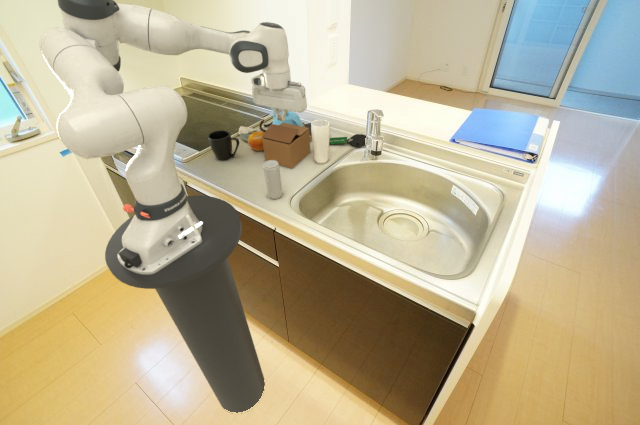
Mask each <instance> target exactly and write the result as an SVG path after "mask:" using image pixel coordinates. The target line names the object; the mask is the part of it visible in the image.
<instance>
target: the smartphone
mask: <svg viewBox="0 0 640 425" xmlns="http://www.w3.org/2000/svg"><path fill="white" fill-rule="evenodd" d="M311 123H312V122H308V123H304V125H305V127H307V128H309V129H308V130H309V134H310V137H311V136H312V135H311Z"/></svg>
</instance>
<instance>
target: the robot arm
mask: <svg viewBox="0 0 640 425" xmlns="http://www.w3.org/2000/svg"><path fill="white" fill-rule="evenodd" d="M57 5H58V7H59V9H60V14H61V18H62V23H63V27H52V28H49V29H46V30H45V31H44V32H43V33H42V34H41V36H40V38H39V49H40V52H41V55H42V56H43V59H44V61H45V63H46V64H47V66H48V67H49V69H50V70H51V72H52V73H53V75H54V76H55V77H56V78H57V80H59V82H60V83H61V84H62V85H63V87H64V89H65V90H66V91H67V92H68V94H69V95H70V101H69V104H68V105H67V107H66V108H65V109H64V110H63V111H62V112H61V113H59V115H58V117H57V120H56V132H57V135H58V138H59V139H60V141H61V143H62V144H63V145H64V147H65V148H66V149H67V150H68V151H70V152H71V153H73V154H74V155H75V156H77V157H80V158H82V159H85V160H93V159H99V158H105V157H112V156H114V155H117V154H119V153H123V152H125V151H128V150H131V149H133V148H136V147H137V149H136V153H135V154H134V155H133V156H132V157H131V158H130V159H129V161H128V162H127V163H126V165H125V170H124V176H125V180H126V182H127V184H128V187H129V188H130V190H131V192H132V194H133V196H134V205H131V204H130V203H126V204H124V205H123V207H122V211H124V212H126V213H127V214H133V213H134V214H133V216H134V217H133V219H132V221H131V222H130V224H129V226H128V227H127V229H126V231H125V232H124V234H123V236H122V245H123V249H122V250H121V251H120V252H119V253H118V255H117V256H118V260H119V262H120V264H121V265H122V266H123V267H125V268H126V269H128V270H130V271H132V272H135V273H138V274H143V275H150V274H154V273H156V272H158V271H159V270H161V269H162V268H164V267H165V266H167V265H169V264H170V263H172V262H173V261H175V260H176V259H178V258H179V257H181V256H182V255H184V254H185V253H187V252H188V251H190V250H191V249H193V248H194V247H196V246H197V245H199V244H200V243H202V237H201V232H202V224H203V223H202V221H201V222H200V221H199V220H198V219H197V217H196V216H195V214H194V213H193V211H192V209H191V208H190V206H189V203H188V201H187V196H188V195H187V193H186V190H185V187H184V185H183V184H182V183H181V181H180V178H179V174H178V171H177V168H176V164H175V148H176V143H177V139H178V137H179V135H180V133H181V131H182V129H183V128H184V126H186V124H187V121H188V108H187V104H186V102H185V100H184V99H183V97H182V96H181V95H180V94H179V93H178V92H177V91H176V90H175V89H173V88H172V87H170V86H169V85H155V86H143V87H140V88H137V89H132V90H128V91H125V92H124V89H125V88H124V85H125V84H124V81H123V80H124V79H123V77H122V75H121V73H120V70H121V64H122V58H121V55H120V45H119V44H125V45H127V46H130V47H133V48H135V49H138V50H142V51H145V52H150V53H153V54H154V53H155V54H157V55H164V56H179V55H182V54H185V53H187V52H189V51H194V50H206V51H211V52H216V53H220V54H224V55H229V59H230V62H231V64H232V66H233V67H234V68H235V70H237V71H239V72H241V73H243V74H244V73H245V74H249V73H254V72H258V71H262V73H259V74H257V75H255V76H253V77H251V79H250V81H251V84H252V87H251V96H252V100H253V103H254V104H255V105H257V106H262V107H267V108H271V107H272V108H273V111H274V113H275V115H276V118H277V120H281V121H285V120H286V114H287V112H288V111H290V112H294V113H299V114H301V113H303V112H305V111H306V110H307V108H308V101H307V96H306V87H305V86H304V85H303V84H302V83H301V82H296V81H292V78H291V67H290V65H289V56H290V54H289V53H290V52H289V51H290V50H289V44H288V37H287V33H286V30H285V29H284V27H282V25H280V24H278V23H274V22H269V21H266V22H264V21H263V22H260V23H258V25H257V26H256V27H255V28H254V29H253V30H251V31H250V30H243V29H242V30H237V31H232V32H228V31H224V30H219V29H215V28H210V27H206V26H202V25H198V24H195V23H192V22H190V21H188V20H185V19H182V18H180V17H177V16H175V15H173V14H170V13H168V12H165V11H162V10H159V9H155V8H151V7H147V6H143V5H137V4H131V3H121V2H120V3H118V2H116V1H115V0H57ZM280 110H281V112H280ZM273 111H272V112H273ZM282 112H283V114H280V113H282Z"/></svg>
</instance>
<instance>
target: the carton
mask: <svg viewBox="0 0 640 425" xmlns="http://www.w3.org/2000/svg"><path fill="white" fill-rule="evenodd" d="M279 126H284V127H289V128H293V129H298V130H299V131H298V132H297V134H296V135H295V137H294V138H293V140H292V141H291V143H290V144H288V143H284V142H280V141H275V140H271V139H267V138H263V139H262V141H263V147H264V150H263V153H264V162H266V161H268V160H275V161H277V162H278V164H279V166H282V167H284V168H289V169H293V168H295V166H297V165H298V164H299V163H300V162H301V161H302V160H303V159H304V158H306V157H307V156H308V155H309V154H311V141H310V137H311V136H310V134H309V130H308V129H309V128H307V127H302V126H297V125H292V124H287V123H282V124H280V125H279Z"/></svg>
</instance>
